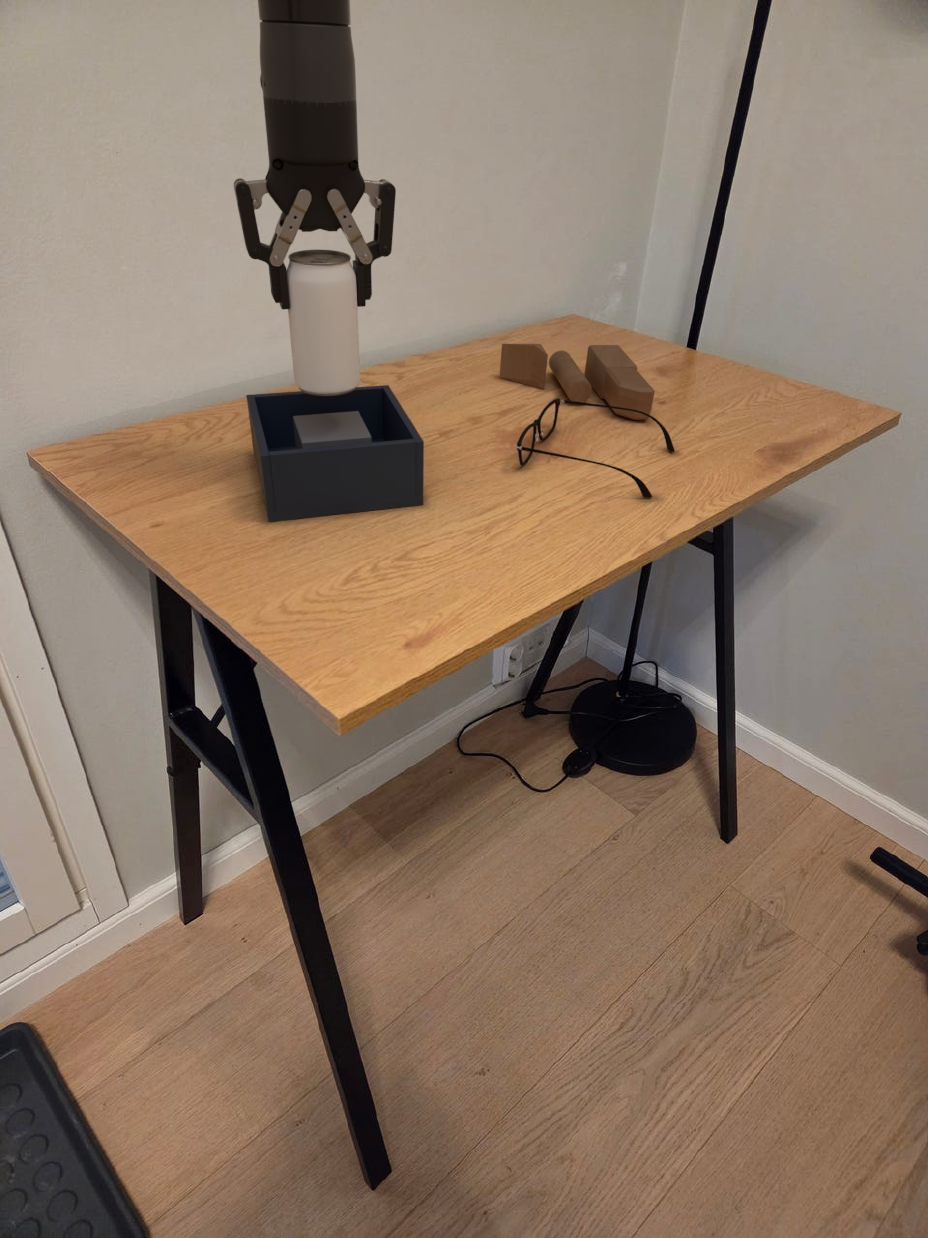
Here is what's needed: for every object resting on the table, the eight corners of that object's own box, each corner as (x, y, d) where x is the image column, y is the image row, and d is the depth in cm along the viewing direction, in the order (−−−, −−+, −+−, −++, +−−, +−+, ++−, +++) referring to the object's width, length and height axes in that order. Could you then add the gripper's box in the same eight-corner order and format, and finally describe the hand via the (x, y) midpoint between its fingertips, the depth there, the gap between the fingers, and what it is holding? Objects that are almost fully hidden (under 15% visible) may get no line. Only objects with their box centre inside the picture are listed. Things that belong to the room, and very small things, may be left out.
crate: (268, 522, 77) (260, 455, 73) (253, 454, 89) (246, 394, 85) (423, 504, 81) (423, 441, 77) (389, 442, 93) (388, 384, 89)
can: (366, 376, 81) (362, 250, 74) (352, 399, 76) (347, 266, 69) (304, 372, 81) (294, 246, 74) (286, 394, 76) (274, 261, 69)
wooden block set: (618, 335, 112) (659, 380, 98) (612, 374, 115) (651, 423, 101) (501, 334, 110) (525, 380, 95) (498, 374, 113) (521, 424, 99)
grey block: (305, 488, 81) (301, 442, 78) (296, 459, 86) (292, 415, 83) (373, 481, 83) (371, 436, 80) (360, 453, 88) (358, 410, 85)
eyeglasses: (552, 422, 100) (555, 392, 97) (677, 447, 95) (684, 415, 93) (507, 475, 87) (510, 441, 85) (648, 506, 83) (655, 471, 80)
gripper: (221, 93, 60) (248, 320, 69) (406, 99, 63) (407, 313, 73) (215, 87, 65) (241, 298, 75) (386, 92, 69) (389, 292, 79)
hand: (323, 305), depth 74 cm, fingers closed on can, 6 cm apart
